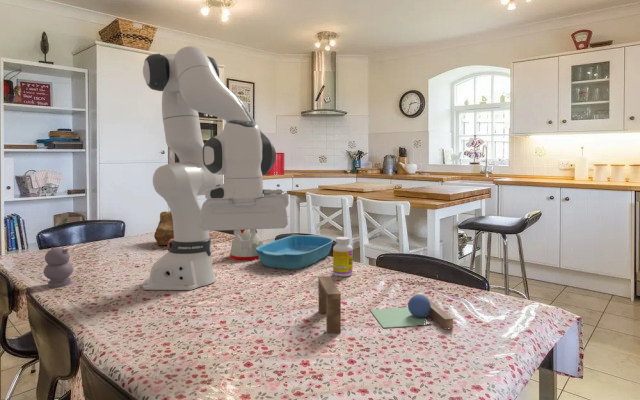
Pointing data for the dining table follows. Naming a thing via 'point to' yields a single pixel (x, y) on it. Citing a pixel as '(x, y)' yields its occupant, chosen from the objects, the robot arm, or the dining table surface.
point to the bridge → (330, 303)
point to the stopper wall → (440, 315)
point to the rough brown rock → (164, 229)
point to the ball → (419, 306)
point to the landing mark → (397, 317)
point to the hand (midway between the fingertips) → (245, 248)
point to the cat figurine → (58, 267)
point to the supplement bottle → (342, 257)
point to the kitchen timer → (245, 248)
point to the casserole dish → (294, 251)
